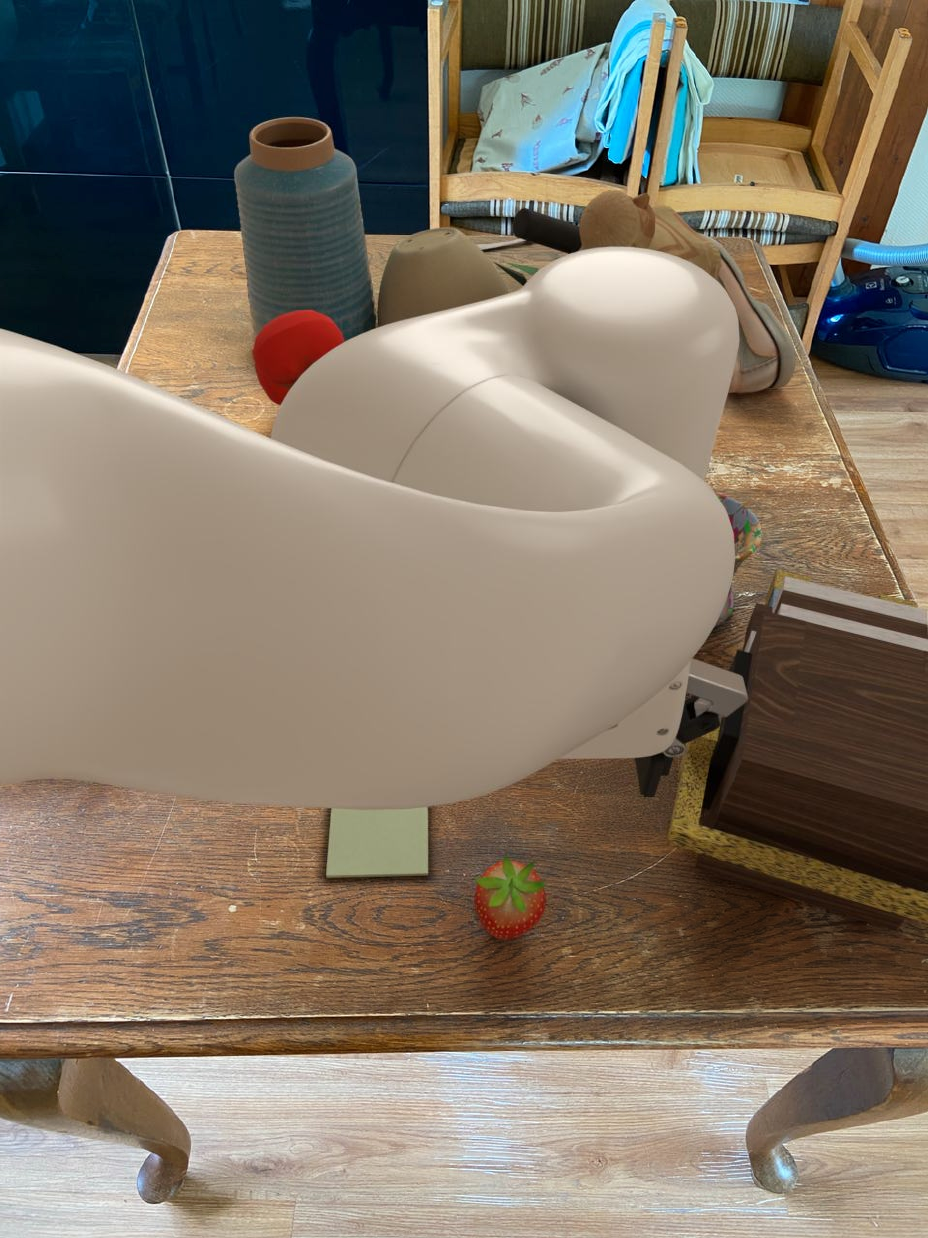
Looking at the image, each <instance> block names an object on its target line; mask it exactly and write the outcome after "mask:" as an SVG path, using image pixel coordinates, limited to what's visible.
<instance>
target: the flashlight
mask: <svg viewBox="0 0 928 1238" xmlns="http://www.w3.org/2000/svg"><path fill="white" fill-rule="evenodd" d="M514 216H515V217H514V219H513V222H512V233H513V235H514V237H516V238H517V239H523V240H527V241H530V242H531V243H534V244H537V245H539V246H543V247H545V248H549V249H552V250H555V251H558V252H561V253H565V254H567V255H568V254H571V253H575V252H578V251H579V249H580V248H581V247H582V242H581V238H580V231H579V227H580V225H577V224H574V223H571V222H568V221H565V220H562V219H559V218H557V217H553V216H550V215H548V214H544V213H542V212H539V211H536V210H534V209H530V208H528V207H523V208H520V209H519V210H518V211H517V213H516V214H515V215H514ZM527 241H526V242H527ZM530 242H529V243H530Z"/></svg>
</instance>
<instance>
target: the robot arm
mask: <svg viewBox="0 0 928 1238" xmlns="http://www.w3.org/2000/svg"><path fill="white" fill-rule="evenodd" d="M739 340H740V339H739V322H738V316H737V313H736V309H735V307H734V305H733V303H732V301H731V299H730V297H729V295H728V293H727V292H726V290H725V289H724V288H723V287H722V286H721V284H720V283H719V282H718V281H717V280H715V279H714V278H713V277H712V276H710V275H709V274H708V273H707V272H705V271H704V270H703V269H701V268H700V267H698V266H696V265H694V264H693V263H691V262H689V261H686V260H684V259H682V258H679V257H677V256H674V255H670V254H667V253H664V252H660V251H655V250H650V249H644V248H635V247H601V248H593V249H587V250H582V251H578V252H575V253H571V254H568V253H567V254H566V255H563V256H560V257H558V258H557V259H555V260H552V261H551V262H549V263H548V264H546V265H544V266H543V267H541V268H538V271H537V272H536V273H535V274H534V275H533V276H532V275H531V276H530V278H529V279H528V280H527V282H526V284H525V285H524V286H522V287H520V289H518V290H514V291H511V292H509V293H508V294H505V295H501V296H498V297H495V298H491V299H488V300H484V301H480V302H476V303H472V304H468V305H464V306H460V307H456V308H452V309H448V310H443V311H439V312H435V313H430V314H426V315H422V316H418V317H414V318H410V319H405V320H401V321H398V322H394V323H391V324H387V325H384V326H381V327H378V328H375V329H373V330H370V331H368V332H365V333H363V334H360V335H358V336H356V337H354V338H351V339H349V340H347V341H345V342H344V343H342V344H340V345H339V346H337V347H335V348H334V349H332V350H331V351H329V352H328V353H327V354H325V355H324V356H322V357H321V358H320V359H319V360H317V361H316V362H315V363H313V364H312V365H311V366H310V367H309V368H308V369H307V370H306V371H305V372H304V373H303V374H302V375H301V376H300V377H299V379H298V380H297V381H296V382H295V384H294V385H293V386H292V388H291V389H290V390H289V392H288V393H287V395H286V397H285V398H284V400H283V402H282V403H281V405H279V409H278V410H277V413H276V416H275V418H274V421H273V423H272V424H273V425H272V429H271V433H270V437H268V436H266V435H264V434H262V433H260V432H257V431H255V430H253V429H252V428H249V427H247V426H244V425H242V424H239V423H237V422H236V421H233V420H231V419H229V418H227V417H225V416H222V415H221V414H218V413H216V412H214V411H211V410H209V409H207V408H205V407H203V406H201V405H198V404H196V403H194V402H192V401H190V400H188V399H185V398H183V397H181V396H178V395H177V394H175V393H172V392H170V391H168V390H166V389H164V388H161V387H159V386H157V385H155V384H153V383H151V382H148V381H146V380H144V379H142V378H139V377H137V376H135V375H132V374H130V373H127V372H125V371H122V370H120V369H119V368H115V367H113V366H110V365H108V364H107V363H106V364H105V363H103V362H101V361H97V360H95V359H92V358H89V357H87V356H83V355H81V354H79V353H76V352H73V351H71V350H68V349H65V348H62V347H60V346H58V345H56V344H55V345H54V344H52V343H48V342H45V341H43V340H39V339H36V338H33V337H29V336H27V335H23V334H20V333H17V332H14V331H10V330H7V329H3V328H0V788H2V787H6V786H9V785H14V784H19V783H24V782H29V781H37V780H50V779H53V780H54V779H59V780H72V781H73V780H75V781H82V782H90V783H96V784H101V785H107V786H113V787H117V788H118V787H119V788H124V789H129V790H134V791H139V792H146V793H150V794H151V793H152V794H156V795H163V796H169V797H175V798H182V799H190V800H195V801H196V800H198V801H205V802H217V803H226V804H240V805H254V806H264V807H265V806H266V807H267V806H269V807H288V808H315V809H317V808H318V809H331V808H337V809H356V810H381V809H413V808H421V807H428V808H429V807H430V808H431V807H437V806H446V805H451V804H455V803H461V802H464V801H468V800H472V799H477V798H481V797H484V796H487V795H489V794H492V793H495V792H497V791H499V790H501V789H505V788H507V787H509V786H511V785H514V784H515V783H518V782H520V781H521V780H524V779H525V778H527V777H529V776H531V775H533V774H535V773H537V772H539V771H540V770H542V769H544V768H545V767H547V766H549V765H551V764H552V763H554V762H556V761H558V760H586V759H587V760H589V759H592V760H595V759H598V760H601V759H605V760H606V759H607V760H608V759H634V760H635V761H634V762H635V768H636V774H637V780H638V788H639V794H640V796H643V797H644V798H645V799H646V798H647V799H649V798H650V799H651V798H655V797H656V795H657V790H658V788H659V784H660V781H661V778H662V777H667V776H669V774H670V770H671V767H672V764H673V761H674V758H678V757H682V755H683V754H684V753H686V751H687V749H686V743H688V742H690V741H692V740H695V739H697V738H699V737H701V736H703V735H705V734H708V733H710V732H712V731H714V730H716V729H718V728H719V726H720V719H722V718H723V717H728V716H729V715H730V714H732V713H733V712H734V711H736V710H737V709H738V708H739V707H741V706H742V705H743V704H745V703H746V702H747V701H748V694H747V690H746V686H745V682H744V679H743V677H742V676H741V675H739V674H736V673H733V672H730V670H727V669H724V668H722V667H719V666H715V665H714V664H710V663H708V662H704V661H701V660H699V659H696V658H694V657H695V655H696V654H697V653H698V652H699V650H700V649H701V648H702V646H703V645H704V644H705V643H706V641H707V640H708V638H709V636H710V635H711V633H712V631H713V629H714V628H715V627H716V626H715V624H716V623H717V621H718V618H719V616H720V614H721V612H722V610H723V607H724V605H725V602H726V599H727V596H728V593H729V590H730V586H731V587H732V584H733V580H734V577H733V573H734V564H735V546H734V533H733V530H732V526H731V523H730V520H729V517H728V514H727V512H726V509H725V507H724V506H723V504H722V503H721V501H720V500H719V498H718V497H717V495H716V494H717V493H716V492H715V491H714V490H713V489H712V487H711V486H710V485H709V484H708V483H707V482H706V478H707V475H708V474H707V473H708V470H709V466H710V462H711V458H712V455H713V452H714V447H715V443H716V440H717V437H718V436H717V435H718V432H719V428H720V424H721V421H722V417H723V414H724V410H725V405H726V402H727V398H728V394H729V393H728V391H729V387H730V383H731V379H732V376H733V372H734V368H735V363H736V358H737V353H738V348H739ZM732 579H733V580H732ZM731 583H732V584H731ZM714 626H715V627H714ZM687 694H688V695H690V697H688V698H686V697H687V696H686V695H687Z"/></svg>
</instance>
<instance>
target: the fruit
mask: <svg viewBox="0 0 928 1238" xmlns="http://www.w3.org/2000/svg"><path fill="white" fill-rule="evenodd" d="M535 862H536V861H535V860H532V861H531V862H529V863H528V864H524V863H522V862H519V861H515V860H510V858H509V856H508V854H507V853H505V855H504V857H503V860H502V861H501V860H500V861H498V862H495V863H494V864H493V865H491V866H489V867H488V868H487V869H486V870H485V871H484V872H483V873H482V874H481V876H480V877H477V878H474V880H475V882H476V887H475V892H474V899H473V900H474V902H473V903H474V909H475V913H476V915H477V918H478V919H479V922H480V923H481V925H482V926H483V928H484V930H485V931H487V933H488V934H490V935H491V936H493V937H494V938H497V939H500V940H513V939H516V938H517V937H521V936H522V935H524V934H526V933H528V932H529V931H531V929H533V928H534V927H535V926H536V925H537V924H538V923H539V921H540V920H541V918H542V916H543V914H544V912H545V909H546V902H547V901H546V899H547V897H546V890H545V887H546V886H547V884H546V883H545V882H543V880H542V879H541V877H540V876H539V874H538V872H536V870H534V869H533V868H534V865H535Z"/></svg>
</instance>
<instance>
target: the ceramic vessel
mask: <svg viewBox="0 0 928 1238" xmlns="http://www.w3.org/2000/svg"><path fill="white" fill-rule="evenodd" d="M650 199H651V198H650V195H649V193H647V192H643V193H641V194H638V195H636V196H634V197H632V196H631V195H628V194H626V193H624V192H623V191H621V190H615V189H609V190H605V191H602V192H601V193H599V194H598V195H596V196H595V197H593V198H592V199H591V200H590V201H589V202H588V204H587V205H586V206H585V208H584V209H583V211H582V214H581V216H580V220H579V226H580V227H579V231H580V238H581V242H582V247H581V248H580V249H579V251H582V250H587V249H593V248H601V247H635V248H644V249H650V250H655V251H660V252H664V253H667V254H670V255H674V256H677V257H679V258H682V259H684V260H686V261H689V262H691V263H693V264H694V265H696V266H698V267H700V268H701V269H703V270H704V271H705V272H707V273H708V274H709V275H710V276H712V277H713V278H714V279H715V280H717V279H718V275H719V272H720V268H721V266H722V263H721V256H720V252H719V250H718V247H716V246H715V245H714V244H713V243H712V242H711V241H709V240H708V239H706V238H705V237H703V236H702V235H700V234H701V233H700V232H697V231H696V230H694V229H693V228H691V226H690V225H689V224H688V223H687V222H686V221H685V220H684V219H683V218H682V217H681V216H680V214H678V212H676V210H675V209H673V208H672V207H671V206H669V205H664V204H662V205H661V204H660V205H655V206H651V204H650ZM699 233H700V234H699Z"/></svg>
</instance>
